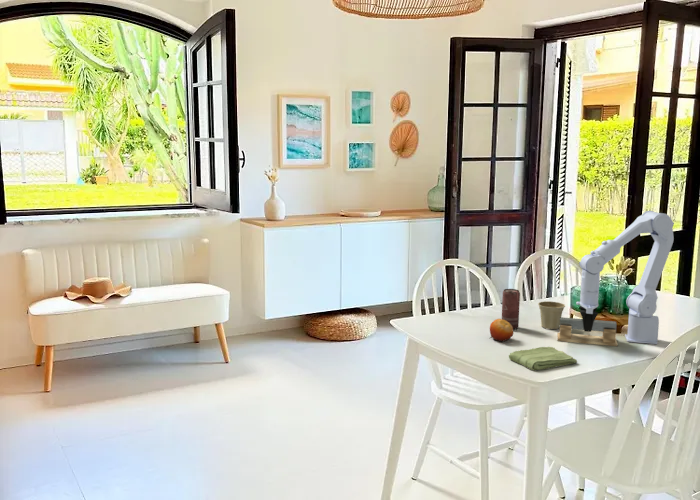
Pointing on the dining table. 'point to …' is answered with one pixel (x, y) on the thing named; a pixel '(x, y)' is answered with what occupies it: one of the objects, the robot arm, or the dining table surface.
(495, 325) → the fruit
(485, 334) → the dining table surface
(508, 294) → the can
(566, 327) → the tan piece
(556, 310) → the flower pot
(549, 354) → the washcloth
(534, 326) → the dining table surface
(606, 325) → the rail
